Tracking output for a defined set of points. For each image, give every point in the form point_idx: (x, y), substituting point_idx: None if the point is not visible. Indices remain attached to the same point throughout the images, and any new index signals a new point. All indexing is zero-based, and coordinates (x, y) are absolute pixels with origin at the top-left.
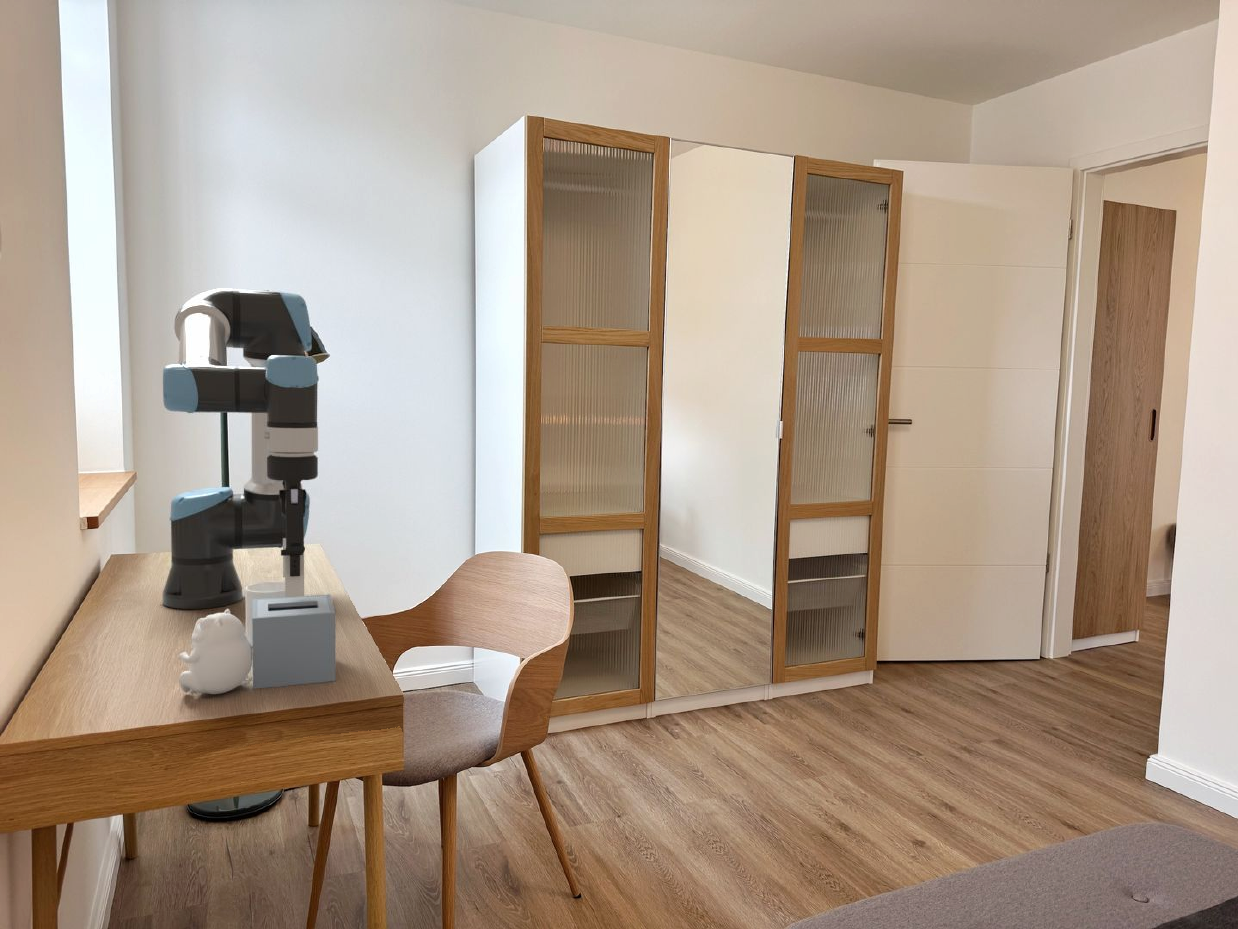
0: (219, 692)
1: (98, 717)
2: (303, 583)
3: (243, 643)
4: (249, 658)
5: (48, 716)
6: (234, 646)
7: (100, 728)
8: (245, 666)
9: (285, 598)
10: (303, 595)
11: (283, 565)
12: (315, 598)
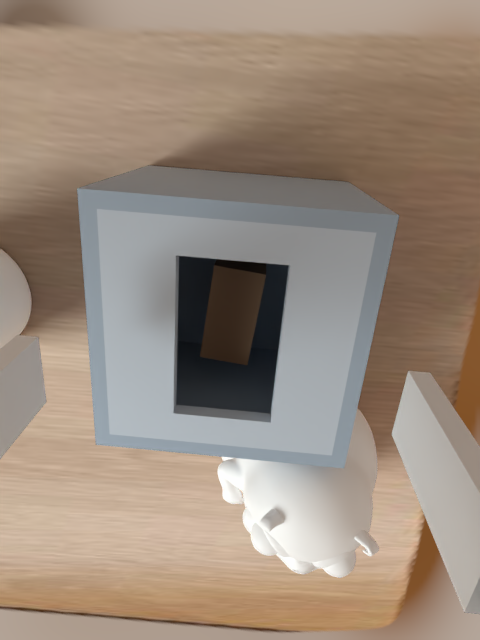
0: None
1: None
2: (453, 409)
3: None
4: None
5: (309, 602)
6: (366, 463)
7: (396, 556)
8: None
9: (108, 356)
10: (431, 377)
11: (17, 435)
12: (134, 255)
